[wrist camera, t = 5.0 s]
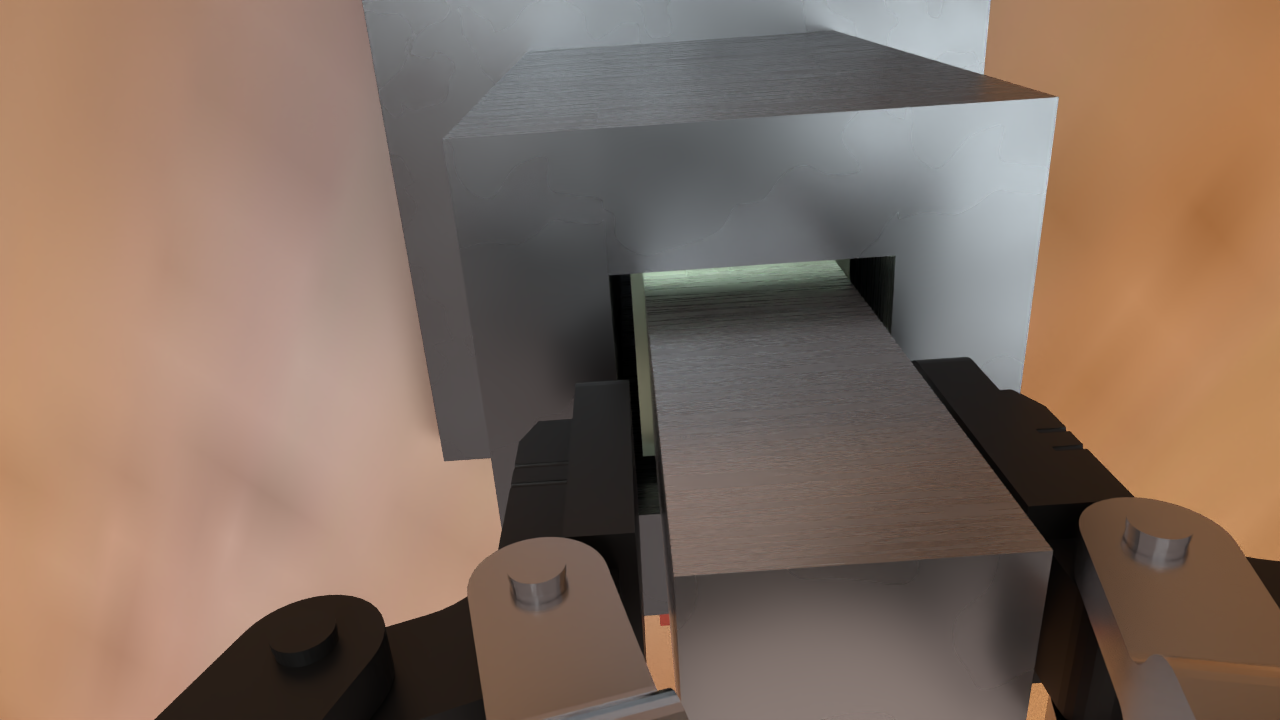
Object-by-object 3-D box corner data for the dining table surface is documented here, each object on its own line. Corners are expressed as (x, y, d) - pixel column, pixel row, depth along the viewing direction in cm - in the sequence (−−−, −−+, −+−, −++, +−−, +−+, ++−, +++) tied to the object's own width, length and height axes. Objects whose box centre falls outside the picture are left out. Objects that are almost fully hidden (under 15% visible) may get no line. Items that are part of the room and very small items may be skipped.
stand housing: (981, -150, 22) (1466, -300, 10) (934, 404, 29) (1186, 748, 16) (358, -108, 22) (25, -203, 10) (452, 437, 29) (327, 808, 16)
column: (750, 130, 23) (1082, 526, 7) (751, 253, 25) (1029, 828, 8) (622, 139, 23) (646, 557, 7) (630, 261, 25) (667, 853, 8)
